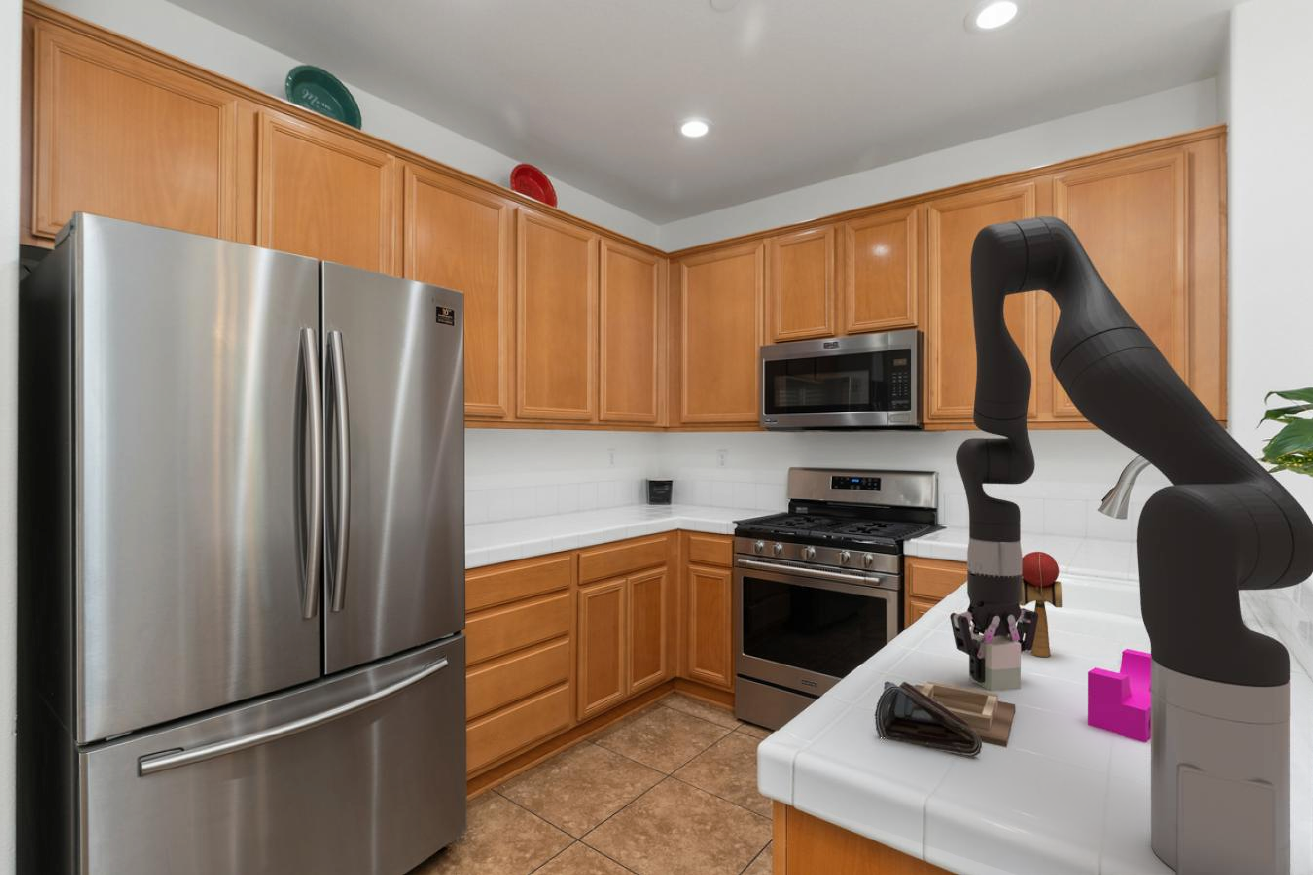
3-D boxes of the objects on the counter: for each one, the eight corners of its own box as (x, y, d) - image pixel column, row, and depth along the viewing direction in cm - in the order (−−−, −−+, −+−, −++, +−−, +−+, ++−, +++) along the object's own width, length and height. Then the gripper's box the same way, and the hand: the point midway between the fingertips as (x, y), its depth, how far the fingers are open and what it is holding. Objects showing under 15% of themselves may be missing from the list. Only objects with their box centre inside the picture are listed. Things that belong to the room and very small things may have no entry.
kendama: (1007, 653, 114) (1007, 551, 114) (1021, 645, 118) (1021, 547, 118) (1057, 665, 108) (1057, 557, 108) (1069, 656, 112) (1069, 552, 112)
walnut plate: (1006, 750, 78) (1006, 728, 78) (894, 724, 86) (894, 704, 86) (1015, 712, 89) (1015, 693, 89) (915, 692, 96) (915, 674, 96)
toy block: (1145, 746, 80) (1145, 686, 80) (1087, 728, 85) (1088, 671, 85) (1180, 714, 89) (1181, 660, 89) (1127, 700, 94) (1127, 648, 94)
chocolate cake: (992, 725, 81) (916, 649, 85) (989, 746, 74) (907, 662, 79) (936, 771, 83) (865, 694, 88) (929, 794, 77) (854, 710, 82)
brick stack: (1020, 690, 97) (1021, 643, 97) (991, 692, 96) (992, 645, 96) (996, 678, 102) (997, 633, 102) (969, 680, 101) (969, 635, 101)
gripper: (1016, 562, 104) (1016, 667, 104) (937, 565, 101) (937, 674, 101) (1054, 571, 97) (1054, 685, 97) (969, 575, 94) (969, 692, 94)
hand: (994, 678), depth 99 cm, fingers closed on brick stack, 5 cm apart
